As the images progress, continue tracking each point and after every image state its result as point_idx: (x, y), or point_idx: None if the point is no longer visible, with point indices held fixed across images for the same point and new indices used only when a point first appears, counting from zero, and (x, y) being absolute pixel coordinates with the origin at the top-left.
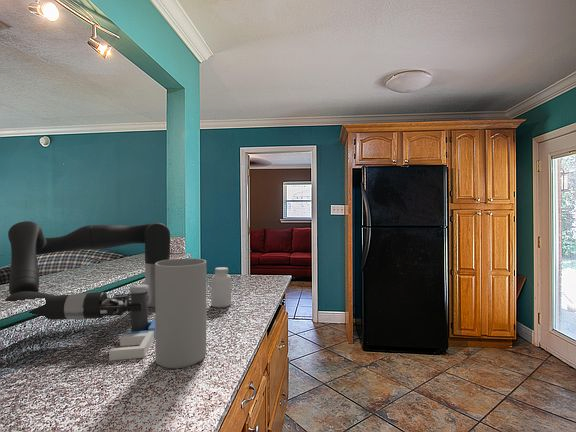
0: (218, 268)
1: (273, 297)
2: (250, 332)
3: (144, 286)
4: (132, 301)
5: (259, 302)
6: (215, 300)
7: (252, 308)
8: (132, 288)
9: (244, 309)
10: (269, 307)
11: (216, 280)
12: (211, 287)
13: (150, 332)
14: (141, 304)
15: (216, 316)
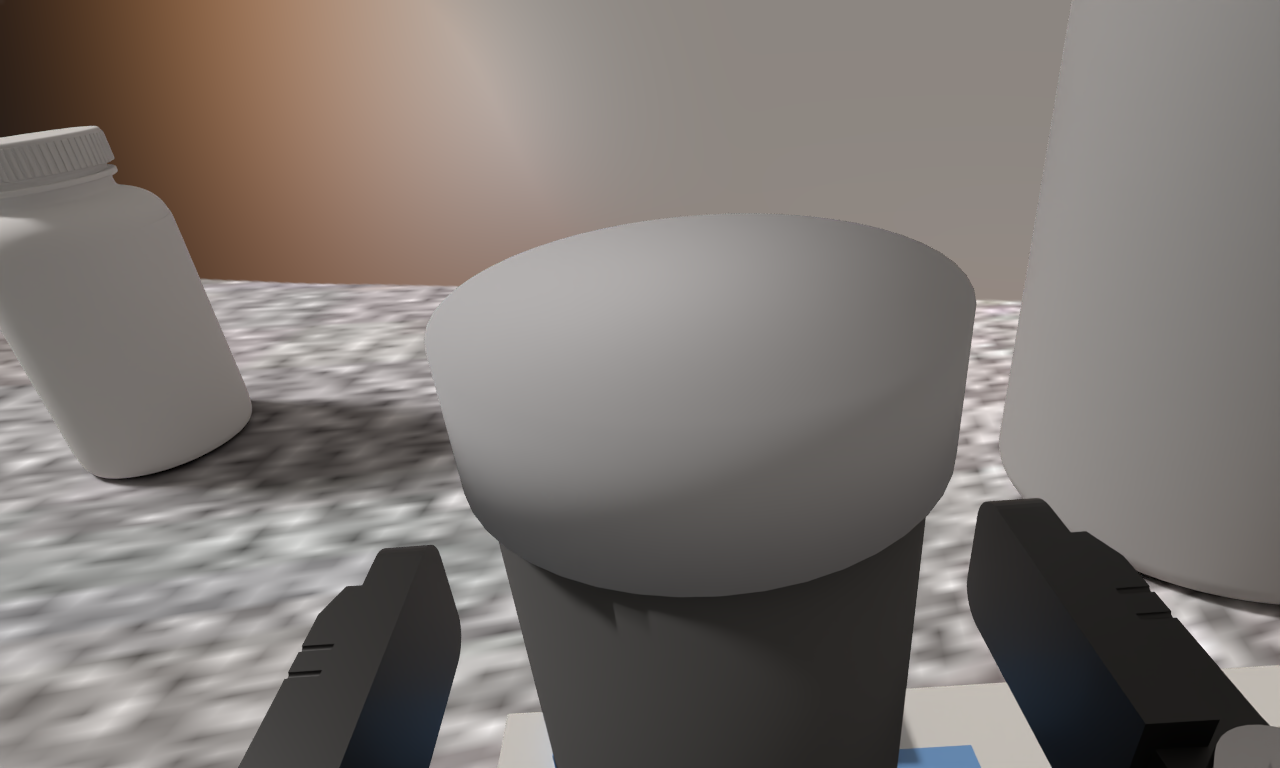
0: (11, 140)
1: (255, 291)
2: None
3: (706, 239)
4: (895, 694)
5: (293, 318)
6: (187, 406)
7: (379, 330)
8: (961, 338)
9: (372, 350)
10: (409, 292)
11: (119, 238)
12: (66, 335)
13: (946, 713)
14: (1019, 503)
15: (423, 433)
